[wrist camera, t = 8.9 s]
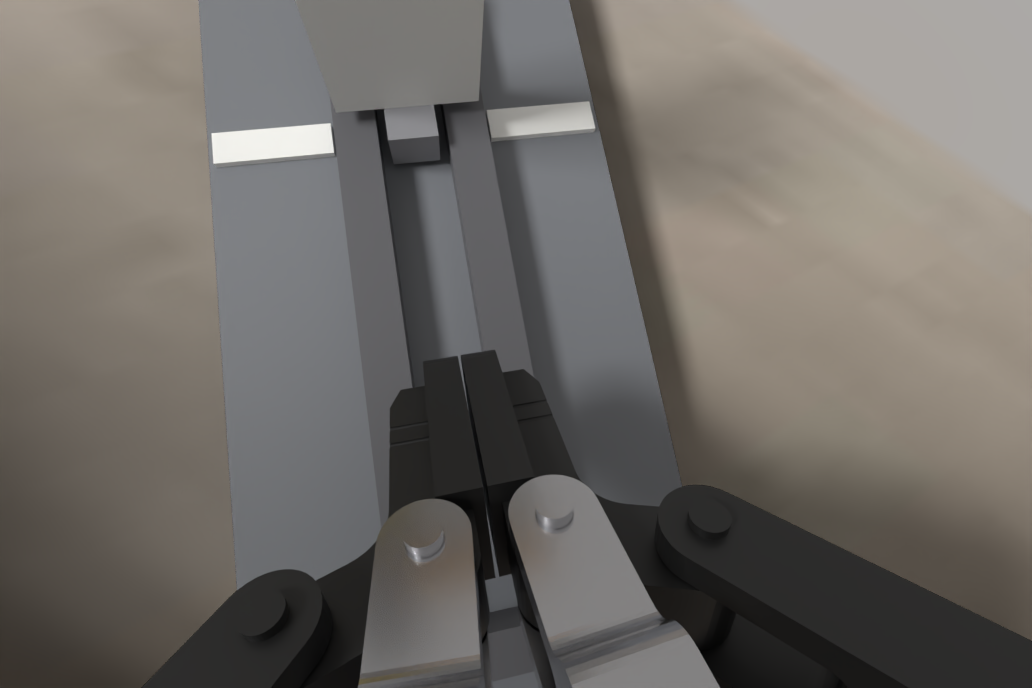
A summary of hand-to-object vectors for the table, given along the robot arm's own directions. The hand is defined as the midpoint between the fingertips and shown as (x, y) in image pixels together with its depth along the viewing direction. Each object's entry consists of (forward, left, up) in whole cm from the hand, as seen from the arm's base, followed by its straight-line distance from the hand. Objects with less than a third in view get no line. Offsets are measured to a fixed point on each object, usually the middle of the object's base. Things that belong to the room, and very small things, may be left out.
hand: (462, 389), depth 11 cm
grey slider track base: (-3, +2, -6) cm, 7 cm away
